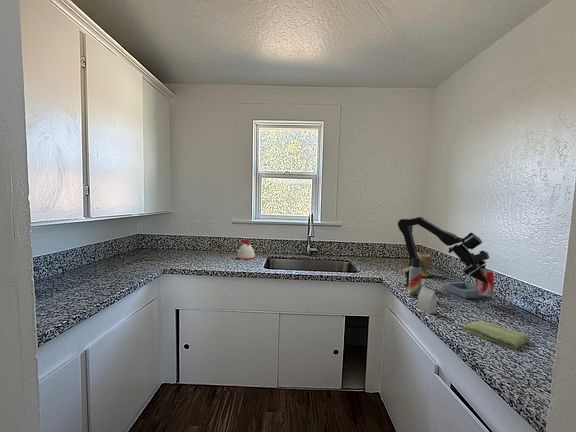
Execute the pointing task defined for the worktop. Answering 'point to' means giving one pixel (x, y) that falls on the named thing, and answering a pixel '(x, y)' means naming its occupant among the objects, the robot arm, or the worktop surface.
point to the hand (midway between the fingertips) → (488, 281)
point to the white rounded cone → (246, 251)
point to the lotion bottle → (415, 278)
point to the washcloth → (497, 334)
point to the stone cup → (427, 260)
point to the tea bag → (427, 300)
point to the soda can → (482, 287)
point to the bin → (462, 290)
